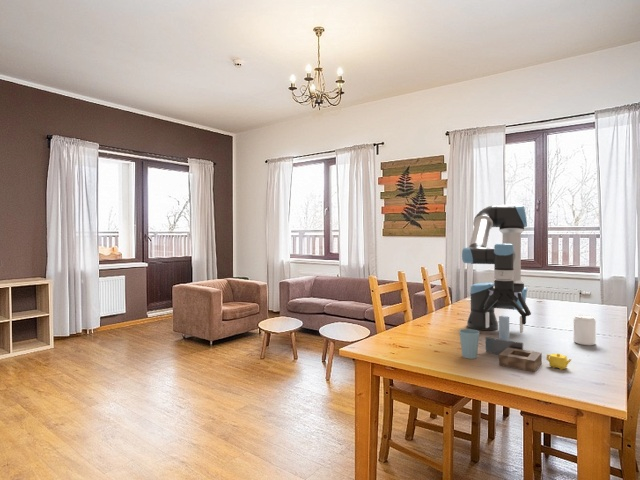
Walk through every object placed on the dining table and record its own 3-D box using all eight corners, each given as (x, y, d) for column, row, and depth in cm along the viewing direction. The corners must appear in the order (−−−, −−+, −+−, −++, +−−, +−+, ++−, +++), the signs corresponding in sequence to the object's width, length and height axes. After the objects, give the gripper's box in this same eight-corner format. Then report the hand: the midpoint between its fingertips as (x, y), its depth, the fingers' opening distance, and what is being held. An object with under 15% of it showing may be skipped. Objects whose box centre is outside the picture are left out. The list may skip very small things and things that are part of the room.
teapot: (574, 368, 144) (574, 354, 144) (569, 372, 140) (569, 357, 140) (549, 363, 150) (549, 349, 150) (545, 366, 146) (544, 353, 146)
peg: (497, 349, 167) (497, 317, 167) (500, 347, 171) (500, 315, 170) (508, 351, 165) (507, 318, 165) (510, 349, 168) (510, 316, 168)
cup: (457, 353, 163) (456, 328, 163) (475, 353, 162) (475, 328, 162) (462, 359, 155) (462, 333, 155) (482, 359, 155) (482, 333, 154)
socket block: (499, 365, 148) (499, 354, 148) (507, 357, 157) (507, 347, 157) (534, 371, 141) (534, 360, 141) (541, 363, 150) (541, 352, 150)
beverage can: (585, 346, 170) (585, 319, 170) (569, 341, 178) (569, 315, 178) (600, 345, 172) (600, 317, 172) (583, 340, 180) (583, 314, 180)
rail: (485, 352, 164) (485, 337, 164) (486, 351, 165) (486, 337, 165) (522, 358, 155) (522, 343, 155) (523, 357, 156) (523, 342, 156)
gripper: (471, 278, 172) (471, 327, 172) (534, 282, 156) (534, 335, 156) (476, 277, 178) (477, 324, 178) (538, 281, 162) (538, 332, 162)
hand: (504, 329), depth 167 cm, fingers open, 13 cm apart
